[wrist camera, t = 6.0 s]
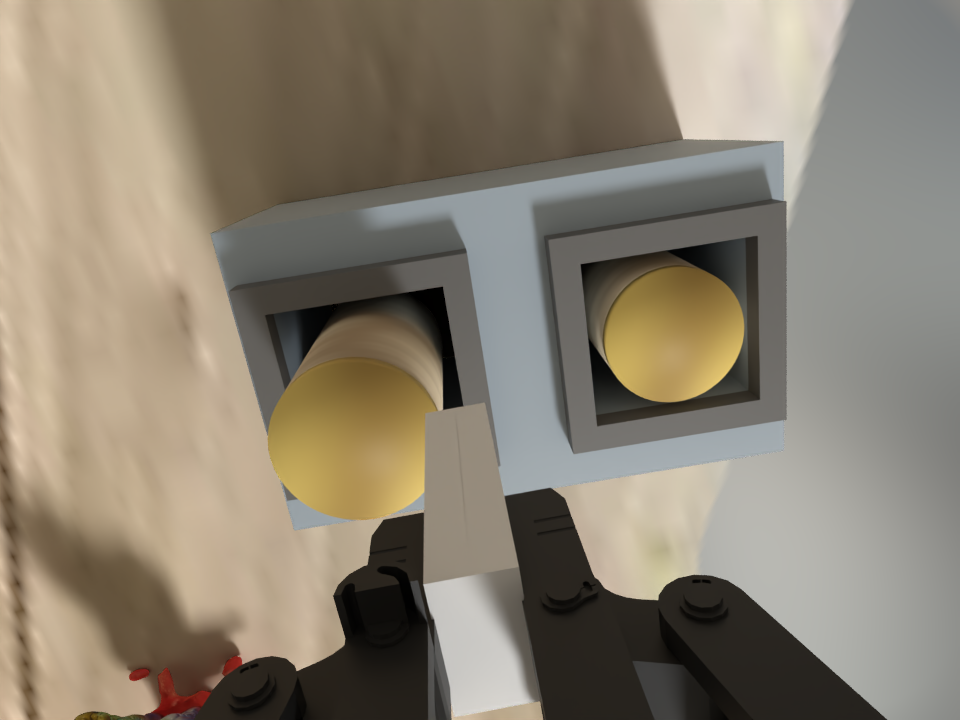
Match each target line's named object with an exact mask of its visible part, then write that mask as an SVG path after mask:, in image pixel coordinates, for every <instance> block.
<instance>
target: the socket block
mask: <svg viewBox="0 0 960 720" xmlns="http://www.w3.org/2000/svg"><path fill="white" fill-rule="evenodd" d="M211 238H212V241H213V245H214V248H215V252H216V255H217V259H218V262H219V266H220V269H221V273H222V276H223V280H224V283H225V287H226V291H227V294H228V298H229V301H230V305H231V308H232V312H233V315H234V319H235V322H236V326H237V329H238V333H239V337H240V340H241V344H242V347H243V351H244V354H245V358H246V361H247V365H248V368H249V372H250V375H251V379H252V382H253V386H254V390H255V393H256V397H257V400H258V404H259V407H260V411H261V414H262V418H263V421H264V425H265V428H266V432H267V436H268V429H269V424H270V419H271V416H272V414H273V411H274V409H275V407H276V405H277V403H278V401H279V400H280V398H281V396H282V395H283V393H284V392H285V390H286V388H287V387H288V385H289V383H290V382H291V380H292V378H293V377H294V375H295V373H296V372H297V370H298V368H299V367H300V365H301V364H302V362H303V360H304V359H305V357H306V355H307V354H308V352H309V350H310V349H311V347H312V345H313V344H314V342H315V341H316V339H317V337H318V336H319V334H320V332H321V331H322V329H323V327H324V326H325V324H326V322H327V321H328V319H329V318H330V316H331V314H332V309H331V304H337V303H343V302H349V301H356V300H362V299H368V298H374V297H380V296H387V295H393V294H399V293H405V292H411V291H418V290H424V289H430V288H436V287H442V286H443V290H444V296H445V302H446V307H447V313H448V319H449V325H450V330H451V336H452V342H453V348H454V353H455V356H452V357H446V358H442V360H443V410H446V409H452V408H457V407H463V406H468V405H474V404H479V403H485V405H486V410H487V415H488V420H489V425H490V430H491V434H492V439H493V444H494V449H495V454H496V459H497V463H498V468H499V473H500V478H501V483H502V488H503V493H504V496H507V495H512V494H518V493H523V492H528V491H534V490H539V489H545V488H558V487H564V486H570V485H577V484H583V483H589V482H595V481H601V480H607V479H613V478H620V477H626V476H632V475H638V474H644V473H650V472H656V471H663V470H669V469H675V468H681V467H687V466H693V465H699V464H706V463H712V462H718V461H724V460H730V459H736V458H743V457H748V456H755V455H761V454H767V453H773V452H779V451H784V420H786V201H784V141H740V140H691V139H683V140H677V141H670V142H664V143H658V144H652V145H645V146H639V147H633V148H627V149H621V150H614V151H608V152H602V153H596V154H589V155H583V156H577V157H571V158H565V159H558V160H552V161H546V162H540V163H533V164H527V165H521V166H515V167H509V168H502V169H496V170H490V171H484V172H477V173H471V174H465V175H459V176H453V177H446V178H440V179H434V180H428V181H422V182H415V183H409V184H403V185H397V186H390V187H384V188H378V189H372V190H366V191H359V192H353V193H347V194H341V195H334V196H328V197H322V198H316V199H310V200H303V201H297V202H291V203H285V204H278V205H276V206H273V207H271V208H269V209H266V210H264V211H262V212H259V213H257V214H255V215H252V216H250V217H248V218H245V219H243V220H241V221H239V222H236V223H234V224H232V225H229V226H227V227H225V228H222V229H220V230H218V231H215V232H213V233H211ZM659 251H667V252H669V253H671V254H673V255H675V256H677V257H679V258H681V259H683V260H685V261H687V262H689V263H690V264H692V265H694V266H696V267H698V268H700V269H702V270H704V271H706V272H708V273H710V274H712V275H714V276H716V277H717V278H718V279H720V280H721V281H723V282H724V283H725V284H726V285H727V286H728V287H729V288H730V289H731V290H732V292H733V293H734V294H735V296H736V298H737V300H738V301H739V304H740V307H741V309H742V313H743V317H744V337H743V343H742V346H741V349H740V352H739V355H738V357H737V359H736V361H735V363H734V364H733V366H732V368H731V369H730V370H729V372H728V373H727V374H726V375H725V376H724V377H723V378H722V379H721V380H720V381H719V382H718V383H717V384H716V385H715V386H713V387H712V388H711V389H709V390H707V391H706V392H704V393H702V394H700V395H698V396H696V397H693V398H690V399H687V400H683V401H677V402H658V401H652V400H649V399H645V398H643V397H640V396H638V395H636V394H635V393H633V392H631V391H630V390H629V389H627V388H626V387H625V386H624V385H623V384H622V383H621V382H620V381H619V380H618V378H617V377H616V376H615V374H614V373H613V371H612V370H611V369H610V367H609V366H608V365H607V363H606V362H605V360H604V359H603V358H602V356H601V355H600V353H599V352H598V351H597V349H596V348H595V347H594V345H593V344H592V342H591V341H590V340H589V338H588V333H587V323H586V313H585V304H584V294H583V284H582V274H581V265H580V264H585V263H591V262H597V261H603V260H610V259H616V258H622V257H628V256H634V255H641V254H647V253H653V252H659ZM280 482H281V485H282V489H283V492H284V496H285V499H286V503H287V506H288V510H289V513H290V517H291V520H292V524H293V527H294V530H300V529H306V528H312V527H318V526H325V525H331V524H337V523H343V522H349V521H355V520H349V519H341V518H337V517H332V516H329V515H326V514H323V513H321V512H318V511H316V510H314V509H312V508H310V507H309V506H307V505H306V504H304V503H303V502H301V501H300V500H299V499H297V498H296V497H295V496H294V495H293V494H292V493H291V492H290V491H289V490H288V489H287V488H286V487H285V485H284V484H283V483H282V481H281V480H280ZM423 509H424V493H423V494H422V495H421V496H420V497H419V498H418V499H416V500H415V501H414V502H413V503H411V504H410V505H408V506H407V507H405V508H404V509H402V510H399V511H397V512H395V513H393V514H398V513H404V512H411V511H417V510H423ZM390 515H392V514H390Z"/></svg>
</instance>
